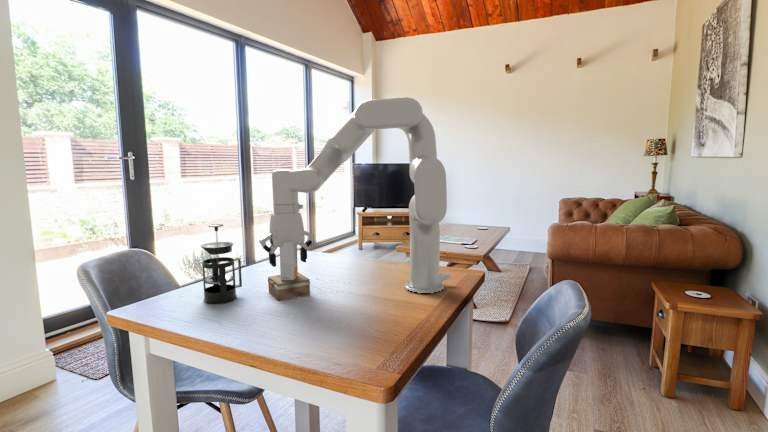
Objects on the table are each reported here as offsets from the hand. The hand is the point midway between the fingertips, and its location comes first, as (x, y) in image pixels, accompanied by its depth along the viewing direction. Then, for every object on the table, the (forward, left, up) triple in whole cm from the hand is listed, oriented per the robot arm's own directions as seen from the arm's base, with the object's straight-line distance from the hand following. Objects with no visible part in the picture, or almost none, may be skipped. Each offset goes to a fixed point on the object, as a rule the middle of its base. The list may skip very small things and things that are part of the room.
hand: (288, 263), depth 133 cm
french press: (+19, -6, -10) cm, 22 cm away
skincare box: (0, 0, -5) cm, 5 cm away
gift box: (0, 0, -10) cm, 10 cm away
